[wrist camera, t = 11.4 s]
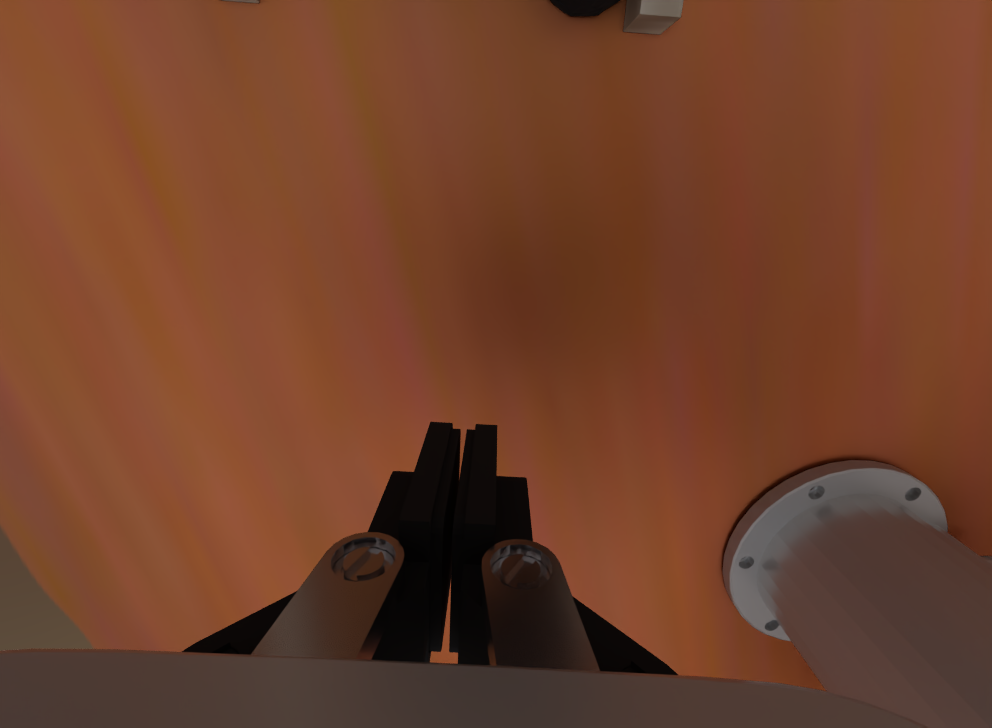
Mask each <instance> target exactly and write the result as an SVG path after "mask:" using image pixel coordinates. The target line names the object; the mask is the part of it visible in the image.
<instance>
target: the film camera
mask: <svg viewBox="0 0 992 728" xmlns="http://www.w3.org/2000/svg"><path fill="white" fill-rule="evenodd" d="M550 1H551V2H552V3H553V4H554V5H555V6H556V7H558V8H559V9H560V10H561V11H563V12H564V13H566V14H568V15H570V16H596V15H599V14H600V13H601V12H603V11H604V10H606V9H608V8H609V7H611V6H612V5H614V4H616V3H617V2H619V1H620V0H550Z"/></svg>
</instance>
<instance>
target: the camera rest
mask: <svg viewBox="0 0 992 728" xmlns="http://www.w3.org/2000/svg"><path fill="white" fill-rule="evenodd" d="M224 1H236V2H249V3H259V0H224ZM682 6H683V0H627V3H626V11H625V20H624V28H623V32H634V33H647V34H659V35H660V34H661V33H662V32H664V31H665V30H666V29H667V28H669V27H670V26H671V25H672V24H673V23H675V22H676V21H677V20H678V19H679V18H681V13H682Z"/></svg>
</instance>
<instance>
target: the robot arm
mask: <svg viewBox="0 0 992 728" xmlns="http://www.w3.org/2000/svg"><path fill="white" fill-rule="evenodd" d="M460 435H461V431H460V429H453V424H452V423H442V422H430V425H429V428H428V431H427V434H426V437H425V440H424V443H423V446H422V449H421V452H420V456H419V459H418V462H417V465H416V468H415V471H414V472H403V471H393V472H392V474H391V476H390V479H389V481H388V484H387V486H386V489H385V491H384V494H383V496H382V498H381V501H380V503H379V506H378V508H377V511H376V513H375V515H374V518H373V520H372V523H371V525H370V528H369V530H368V532H364V533H358V534H354V535H351V536H348V537H345V538H343V539H341V540H340V541H338V542H337V543H335V544H333V545H332V547H331V548H330V549H329V550H328V551H327V552H326V553H325V554H324V556H323V557H322V558H321V560H320V561H319V562H318V564H317V565H316V566H315V568H314V569H313V571H312V572H311V573H310V575H309V576H308V577H307V579H306V580H305V581H304V583H303V584H302V586H301V587H300V588H299V590H298V591H296V592H294V593H292V594H290V595H288V596H286V597H285V598H283V599H281V600H279V601H277V602H275V603H273V604H271V605H269V606H267V607H265V608H263V609H261V610H259V611H257V612H255V613H253V614H251V615H249V616H247V617H245V618H243V619H241V620H239V621H238V622H236V623H234V624H232V625H230V626H228V627H226V628H224V629H222V630H220V631H218V632H216V633H214V634H212V635H210V636H208V637H206V638H204V639H202V640H200V641H198V642H196V643H195V644H193V645H192V646H190V647H188V648H187V649H185V650H184V651H182V652H170V651H145V650H120V649H20V650H6V651H0V728H992V556H979V555H978V554H976V553H975V552H974V551H972V550H971V549H969V548H968V547H967V546H965V545H964V544H962V543H961V542H960V541H958V540H957V539H956V538H954V537H953V536H951V535H950V534H949V533H947V529H948V525H947V520H946V515H945V510H944V508H943V506H942V504H941V503H940V501H939V499H938V497H937V496H936V495H935V494H934V493H933V491H932V490H931V489H930V488H929V487H928V486H927V485H926V484H924V483H923V482H921V481H920V480H918V479H917V478H915V477H914V476H912V475H911V474H909V473H908V472H906V471H904V470H901V469H899V468H897V467H895V466H892V465H890V464H885V463H881V462H876V461H869V460H848V461H841V462H834V463H828V464H825V465H822V466H818V467H815V468H812V469H809V470H806V471H804V472H802V473H800V474H798V475H795V476H793V477H791V478H789V479H787V480H785V481H784V482H782V483H781V484H779V485H778V486H776V487H775V488H773V489H772V490H770V491H769V492H767V493H766V494H765V495H764V496H763V497H762V498H761V499H759V500H758V501H757V502H756V503H755V504H754V505H753V506H752V507H751V508H750V509H749V510H748V512H747V513H746V514H745V515H744V517H743V518H742V519H741V520H740V521H739V523H738V525H737V526H736V528H735V530H734V532H733V533H732V535H731V537H730V539H729V542H728V545H727V548H726V551H725V554H724V561H723V578H724V585H725V588H726V590H727V592H728V595H729V597H730V599H731V601H732V602H733V604H734V605H735V607H736V608H737V610H738V611H739V613H740V614H741V616H742V617H743V618H744V619H745V620H746V621H747V622H748V623H749V624H750V625H751V626H752V627H754V628H756V629H757V630H759V631H760V632H762V633H764V634H766V635H769V636H772V637H775V638H778V639H781V640H787V641H791V642H792V643H793V644H794V646H795V647H796V649H797V650H798V651H799V653H800V654H801V656H802V657H803V658H804V660H805V661H806V663H807V664H808V666H809V667H810V668H811V670H812V671H813V673H814V674H815V675H816V677H817V678H818V680H819V681H820V683H821V684H822V685H823V687H824V688H825V690H826V691H827V692H826V691H822V690H817V689H811V688H805V687H799V686H793V685H787V684H781V683H771V682H759V681H748V680H736V679H725V678H714V677H702V676H682V675H678V674H677V673H676V672H674V671H673V670H672V669H671V668H670V667H669V666H668V665H667V664H665V663H664V662H663V661H661V660H660V659H658V658H657V657H656V656H654V655H653V654H652V653H650V652H649V651H647V650H646V649H645V648H643V647H642V646H640V645H639V644H638V643H636V642H635V641H634V640H632V639H631V638H629V637H628V636H627V635H625V634H624V633H622V632H621V631H620V630H618V629H617V628H616V627H614V626H613V625H611V624H610V623H609V622H607V621H606V620H604V619H603V618H602V617H600V616H599V615H598V614H596V613H595V612H593V611H592V610H591V609H589V608H588V607H586V606H585V605H584V604H582V603H581V602H580V601H578V600H577V599H575V598H574V597H573V596H572V594H571V592H570V589H569V586H568V584H567V581H566V578H565V576H564V573H563V570H562V568H561V565H560V563H559V561H558V559H557V558H556V556H555V555H554V554H553V553H552V552H551V551H550V550H549V549H548V548H546V547H544V546H542V545H540V544H539V543H536V542H533V538H532V528H531V518H530V508H529V498H528V487H527V479H526V478H524V477H504V476H496V471H497V425H482V424H476V427H475V430H468V429H467V433H466V440H465V446H464V453H463V460H462V466H461V473H460V480H459V467H460ZM450 582H451V608H450V644H449V652H457V653H458V664H450V663H429V662H430V656H431V651H436V652H441V649H442V642H443V634H444V627H445V619H446V612H447V604H448V597H449V589H450Z"/></svg>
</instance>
